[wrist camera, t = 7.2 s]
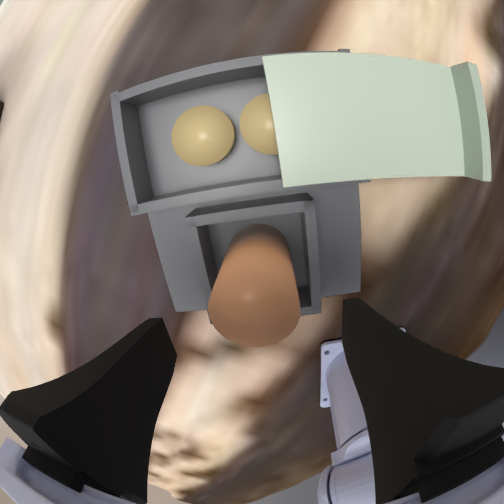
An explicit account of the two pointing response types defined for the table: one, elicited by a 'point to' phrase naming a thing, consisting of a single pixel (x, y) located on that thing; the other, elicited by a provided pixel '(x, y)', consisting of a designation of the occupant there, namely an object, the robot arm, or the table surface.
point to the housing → (228, 182)
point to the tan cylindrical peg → (255, 289)
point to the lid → (375, 118)
